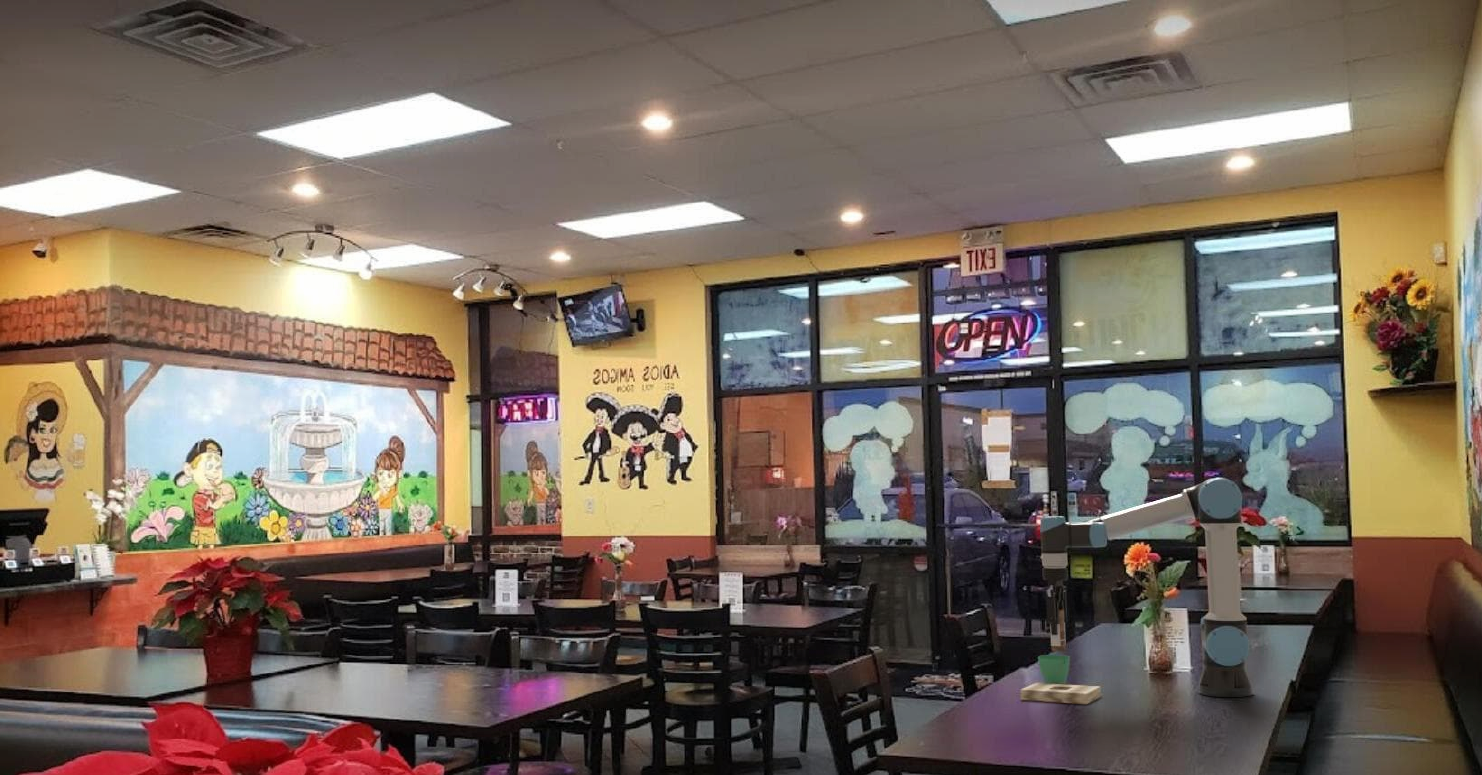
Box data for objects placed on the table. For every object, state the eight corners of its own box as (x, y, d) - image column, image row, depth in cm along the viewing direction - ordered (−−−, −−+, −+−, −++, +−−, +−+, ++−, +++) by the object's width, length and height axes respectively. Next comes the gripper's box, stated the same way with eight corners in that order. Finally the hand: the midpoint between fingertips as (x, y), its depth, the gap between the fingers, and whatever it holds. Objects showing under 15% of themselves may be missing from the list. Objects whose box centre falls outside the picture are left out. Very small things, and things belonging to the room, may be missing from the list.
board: (1101, 696, 362) (1100, 686, 363) (1087, 704, 351) (1086, 693, 351) (1036, 692, 373) (1036, 682, 374) (1021, 699, 362) (1020, 689, 362)
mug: (1066, 692, 372) (1065, 659, 373) (1035, 690, 377) (1034, 658, 378) (1079, 684, 385) (1077, 653, 386) (1049, 683, 390) (1047, 652, 391)
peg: (1067, 649, 364) (1065, 609, 365) (1063, 651, 360) (1061, 611, 362) (1054, 648, 366) (1052, 609, 367) (1049, 650, 363) (1047, 610, 364)
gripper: (1052, 565, 375) (1055, 640, 373) (1033, 568, 360) (1036, 647, 358) (1075, 565, 371) (1079, 642, 369) (1057, 569, 356) (1061, 648, 354)
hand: (1058, 644), depth 363 cm, fingers closed on peg, 4 cm apart
